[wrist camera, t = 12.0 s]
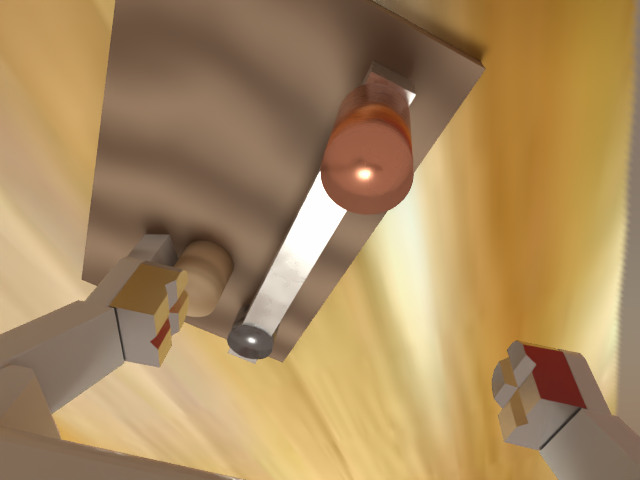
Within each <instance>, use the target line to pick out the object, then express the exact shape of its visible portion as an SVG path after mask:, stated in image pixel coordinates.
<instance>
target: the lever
mask: <svg viewBox="0 0 640 480" xmlns="http://www.w3.org/2000/svg"><path fill="white" fill-rule="evenodd" d="M415 95H416V92H415V83H414V82H412V81H410V80H408V79H407V78H405V77H403V76H401V75H399V74H397V73H395V72H393V71H391V70H390V69H388V68H386V67H384V66H382V65H380V64H378V63H376V62H374V61H373V62H372V64H371V66H370V68H369V70H368V72H367V74H366V76H365V78H364V80H363V82H362V84H361V86H359V87H357V88H355V89H354V90H352V91H351V92H350V93H349V94H348V95H347V96H346V97H345V98H344V100H343V101H342V103H341V105H340V108H339V111H338V114H337V117H336V120H335V123H334V126H333V129H332V132H331V135H330V138H329V141H328V144H327V147H326V150H325V153H324V156H323V159H322V162H321V165H320V167H319V169H318V171H317V173H316V175H315V177H314V179H313V181H312V183H311V185H310V187H309V189H308V191H307V193H306V195H305V197H304V199H303V201H302V203H301V205H300V207H299V209H298V211H297V213H296V215H295V217H294V219H293V221H292V223H291V225H290V227H289V229H288V231H287V233H286V235H285V237H284V239H283V241H282V243H281V245H280V247H279V249H278V251H277V253H276V255H275V257H274V259H273V261H272V262H271V264H270V266H269V268H268V270H267V272H266V274H265V276H264V278H263V280H262V282H261V284H260V286H259V288H258V290H257V292H256V294H255V296H254V298H253V300H252V302H251V304H249V305H245V306H243V307H242V308H240V310H239V311H238V313H237V316H236V318H235V321H234V323H233V325H232V328H231V330H230V332H229V335H228V337H227V342H228V345H229V347H230V349H229V351H228V353H229V354H232V355H234V356H237V357H239V358H242V359H244V360H247V361H249V362H252V363H254V364H255V363H256V361H257V360H258V359H263V358H266V357H267V356H269V355H270V354H271V352H272V349H273V346H274V342H275V339H276V336H277V332H278V329H279V326H280V321H281V319H282V318H283V316H284V314H285V313H286V311H287V309H288V308H289V306H290V304H291V303H292V301H293V299H294V298H295V296H296V294H297V293H298V291H299V289H300V288H301V286H302V284H303V283H304V281H305V279H306V278H307V276H308V274H309V273H310V271H311V269H312V268H313V266H314V264H315V263H316V261H317V259H318V258H319V256H320V254H321V253H322V251H323V249H324V247H325V246H326V244H327V242H328V241H329V239H330V237H331V236H332V234H333V232H334V231H335V229H336V227H337V226H338V224H339V222H340V221H341V219H342V217H343V216H344V214H345V212H346V211H349V212H352V213H356V214H362V215H373V214H379V213H382V212H385V211H388V210H390V209H392V208H394V207H395V206H397V205H398V204H399V203H400V202H401V201H402V200H403V199H404V198H405V197H406V196H407V194H408V192H409V191H410V188H411V186H412V182H413V176H414V170H413V154H412V138H411V123H410V111H409V105H410V104H411V102H412V100H413V99H414V97H415Z"/></svg>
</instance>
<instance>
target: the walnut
mask: <svg viewBox="0 0 640 480" xmlns="http://www.w3.org/2000/svg"><path fill="white" fill-rule="evenodd" d="M173 267H175V268H179V269H183V270H186V271H187V274H188V283H187V285H186V286H185V288H184V290H185V291H186V292H187V293H188V295H189V304H188V311H187V314H186V315H187V316H191V317H204V316H207V315H209V314H211V313H212V312H213V311H214V309H215V307H216V305H217V303H218V301H219V299H220V297H221V295H222V293H223V291H224V289H225V287H226V285H227V283H228V281H229V279H230V276H231V274H232V272H233V270H234V263H233V259H232V257H231V256H230V254H229V253H228V252H227V251H226V250H225V249H224V248H223V247H221V246H220V245H218V244H216V243H213V242H210V241H203V240H202V241H195V242H192V243H190V244H189V245H188V246H187V247H186V249H185V250H184V252H183V253H182V255H181V256H180V258H179V259H178V261H177V262H176V263H175V265H174V266H173Z"/></svg>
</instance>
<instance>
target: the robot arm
mask: <svg viewBox="0 0 640 480" xmlns="http://www.w3.org/2000/svg"><path fill="white" fill-rule="evenodd" d="M187 283H188V274H187V271H186V270H183V269H179V268H175V267H171V266H167V265H163V264H158V263H154V262H150V261H144V260H140V259H136V258H132V257H127V256H125V257H123V258H121V259H120V260H119V261H118V262H117V263H116V265H115V266H114V267H113V268H112V269H111V270H110V272H109V273H108V274H107V275H106V276H105V278H104V279H103V280H102V281H101V282H100V284H99V285H98V286H97V287H96V288H95V290H94V291H93V292H92V293H91V294H90V296H89V297H88V298H87V299H86V300H85V301H79V300H78V301H76V302H73V303H71V304H69V305H67V306H64V307H62V308H60V309H57V310H55V311H53V312H51V313H48V314H46V315H44V316H42V317H39V318H37V319H35V320H32V321H30V322H28V323H26V324H23V325H21V326H19V327H16V328H14V329H12V330H10V331H7V332H5V333H3V334H0V480H245V479H240V478H235V477H231V476H226V475H222V474H217V473H212V472H208V471H203V470H199V469H194V468H189V467H185V466H180V465H176V464H171V463H166V462H162V461H157V460H153V459H148V458H143V457H139V456H134V455H130V454H125V453H121V452H116V451H111V450H107V449H102V448H98V447H93V446H89V445H84V444H80V443H75V442H70V441H66V440H61V437H60V432H59V430H58V427H57V425H56V423H55V420H54V418H53V416H52V414H53V413H54V412H55V411H57V410H58V409H60V408H61V407H63V406H64V405H65V404H67V403H68V402H70V401H71V400H73V399H74V398H75V397H77V396H78V395H80V394H81V393H82V392H84V391H85V390H87V389H88V388H90V387H91V386H92V385H94V384H95V383H97V382H98V381H100V380H101V379H102V378H104V377H105V376H107V375H108V374H109V373H111V372H112V371H114V370H115V369H117V368H118V367H119V366H121V365H122V364H124V361H128V362H133V363H139V364H144V365H149V366H155V367H160V366H161V364H162V363H163V361H164V359H165V357H166V355H167V353H168V351H169V350H170V348H171V346H172V341H171V336H172V335H173V334H175V333H177V332H178V331H180V329H181V327H182V325H183V323H184V320H185V317H186V314H187V311H188V304H189V295H188V293H187V292H186V291H185V290H184V288H185V286H186V285H187ZM507 351H508V355H509V357H508V358H506V359H504V360H501V361H499V363H498V364H497V366H496V368H495V369H494V373H493V378H492V391H493V396H494V399H495V400H496V402H497V403H498V404H499V405H500V406H501V408H502V410H501V411H500V413H499V415H498V418H499V422H500V427H501V431H502V435H503V439H504V442H506V443H511V444H515V445H519V446H523V447H527V448H531V449H535V450H539V451H540V452H539V453H540V454H541V456H542V457H543V459H544V460H545V461H546V463H547V464H548V466H549V467H550V468H551V470H552V471H553V473H554V474H555V475H556V477H557V478H558V480H640V436H639V435H637V434H636V433H635V432H634V431H633V430H632V429H631V428H630V427H629V426H628V425H627V424H626V423H625V422H624V421H623V420H621V419H620V418H619V417H618V416H614V415H612V414H611V412H610V410H609V408H608V406H607V404H606V402H605V400H604V397H603V395H602V393H601V391H600V389H599V387H598V385H597V383H596V381H595V378H594V376H593V374H592V372H591V370H590V368H589V366H588V364H587V361H586V359H585V358H584V357H583V356H582V355H581V354H580V353H576V352H571V351H566V350H562V349H556V348H551V347H547V346H542V345H537V344H532V343H527V342H522V341H515V342H513V343H512V344H511V345H510V347H509V348H508V349H507Z"/></svg>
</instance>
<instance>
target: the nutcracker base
mask: <svg viewBox="0 0 640 480" xmlns="http://www.w3.org/2000/svg"><path fill="white" fill-rule="evenodd" d="M373 61H374V62H376V63H378V64H380V65H382V66H384V67H386V68H388V69H390V70H391V71H393V72H395V73H397V74H399V75H401V76H403V77H405V78H407V79H408V80H410V81H412V82H414V83H415V92H416V95H415V97H414V99H413V100H412V102H411V104H410V105H409V111H410V123H411V138H412V154H413V170H414V172H415V170H416V169H417V168H418V166H419V165H420V163H421V162H422V160H423V159H424V157H425V156H426V155H427V153H428V152H429V150H430V149H431V147H432V146H433V144H434V143H435V142H436V140H437V139H438V137H439V136H440V134H441V133H442V131H443V130H444V129H445V127H446V126H447V124H448V123H449V121H450V120H451V118H452V117H453V116H454V114H455V113H456V111H457V110H458V108H459V107H460V105H461V104H462V103H463V101H464V100H465V98H466V97H467V95H468V94H469V92H470V91H471V90H472V88H473V87H474V85H475V84H476V82H477V81H478V79H479V78H480V77H481V75H482V74H483V72H484V71H485V67H484V66H483V64H482V63H481V62H480V61H478V60H477V59H475V58H473V57H471V56H470V55H468V54H466V53H464V52H463V51H461V50H459V49H457V48H455V47H454V46H452V45H450V44H448V43H447V42H445V41H443V40H441V39H439V38H438V37H436V36H434V35H432V34H431V33H429V32H427V31H425V30H423V29H422V28H420V27H418V26H416V25H415V24H413V23H411V22H409V21H407V20H406V19H404V18H402V17H400V16H399V15H397V14H395V13H393V12H392V11H390V10H388V9H386V8H384V7H383V6H381V5H379V4H377V3H376V2H374V1H372V0H116V1H115V10H114V18H113V26H112V34H111V42H110V51H109V59H108V67H107V75H106V84H105V92H104V100H103V108H102V116H101V125H100V133H99V141H98V149H97V158H96V166H95V174H94V182H93V190H92V199H91V207H90V215H89V223H88V232H87V240H86V248H85V256H84V264H83V273H82V280H84V281H86V282H89V283H91V284H94V285H96V286H98V285H99V284H100V282H101V281H102V280H103V279H104V278H105V276H106V275H107V274H108V273H109V272H110V270H111V269H112V268H113V267H114V266H115V265H116V263H117V262H118V261H119V260H120V259H121V258H123V257H125V256H127V257H132V258H136V259H140V260H144V261H150V262H154V263H158V264H163V265H167V266H171V267H173V266H174V265H175V263H176V262H177V261H178V259H179V258H180V256H181V255H182V253H183V252H184V250H185V249H186V247H187V246H188V245H189V244H190V243H192V242H195V241H202V240H203V241H210V242H213V243H216V244H218V245H220V246H221V247H223V248H224V249H225V250H226V251H227V252H228V253H229V254H230V256H231V257H232V259H233V263H234V270H233V272H232V274H231V276H230V279H229V281H228V283H227V285H226V287H225V289H224V291H223V293H222V295H221V297H220V299H219V301H218V303H217V305H216V307H215V309H214V311H213V312H212V313H211V314H209V315H207V316H204V317H191V316H187V315H186V317H185V320H184V322H186V323H188V324H191V325H193V326H195V327H198V328H200V329H203V330H205V331H208V332H210V333H212V334H215V335H217V336H220V337H222V338H225V339H227V337H228V335H229V332H230V330H231V328H232V325H233V323H234V321H235V318H236V316H237V313H238V311H239V310H240V308H242V307H243V306H245V305H249V304H251V302H252V300H253V298H254V296H255V294H256V292H257V290H258V288H259V286H260V284H261V282H262V280H263V278H264V276H265V274H266V272H267V270H268V268H269V266H270V264H271V262H272V261H273V259H274V257H275V255H276V253H277V251H278V249H279V247H280V245H281V243H282V241H283V239H284V237H285V235H286V233H287V231H288V229H289V227H290V225H291V223H292V221H293V219H294V217H295V215H296V213H297V211H298V209H299V207H300V205H301V203H302V201H303V199H304V197H305V195H306V193H307V191H308V189H309V187H310V185H311V183H312V181H313V179H314V177H315V175H316V173H317V171H318V169H319V167H320V165H321V162H322V159H323V156H324V153H325V150H326V147H327V144H328V141H329V138H330V135H331V132H332V129H333V126H334V123H335V120H336V117H337V114H338V111H339V108H340V105H341V103H342V101H343V100H344V98H345V97H346V96H347V95H348V94H349V93H350V92H351V91H352V90H354V89H355V88H357V87H359V86H361V84H362V82H363V80H364V78H365V76H366V74H367V72H368V70H369V68H370V66H371V64H372V62H373ZM386 212H387V211H385V212H382V213H379V214H373V215H362V214H356V213H352V212H349V211H346V212H345V214H344V216H343V217H342V219H341V221H340V222H339V224H338V226H337V227H336V229H335V231H334V232H333V234H332V236H331V237H330V239H329V241H328V242H327V244H326V246H325V247H324V249H323V251H322V253H321V254H320V256H319V258H318V259H317V261H316V263H315V264H314V266H313V268H312V269H311V271H310V273H309V274H308V276H307V278H306V279H305V281H304V283H303V284H302V286H301V288H300V289H299V291H298V293H297V294H296V296H295V298H294V299H293V301H292V303H291V304H290V306H289V308H288V309H287V311H286V313H285V314H284V316H283V318H282V319H281V321H280V326H279V329H278V332H277V336H276V339H275V342H274V346H273V349H272V352H271V354H270V355H269V356H268V357H271V358H273V359H275V360H278V361H280V362H283V361H284V360H285V358H286V357H287V356H288V354H289V353H290V351H291V350H292V348H293V347H294V345H295V344H296V343H297V341H298V340H299V338H300V337H301V335H302V334H303V332H304V331H305V330H306V328H307V327H308V325H309V324H310V322H311V321H312V319H313V318H314V317H315V315H316V314H317V312H318V311H319V309H320V308H321V306H322V305H323V303H324V302H325V301H326V299H327V298H328V296H329V295H330V293H331V292H332V290H333V289H334V288H335V286H336V285H337V283H338V282H339V280H340V279H341V277H342V276H343V275H344V273H345V272H346V270H347V269H348V267H349V266H350V264H351V263H352V262H353V260H354V259H355V257H356V256H357V254H358V253H359V251H360V250H361V249H362V247H363V246H364V244H365V243H366V241H367V240H368V238H369V237H370V236H371V234H372V233H373V231H374V230H375V228H376V227H377V225H378V224H379V223H380V221H381V220H382V218H383V217H384V215H385V214H386Z"/></svg>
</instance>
